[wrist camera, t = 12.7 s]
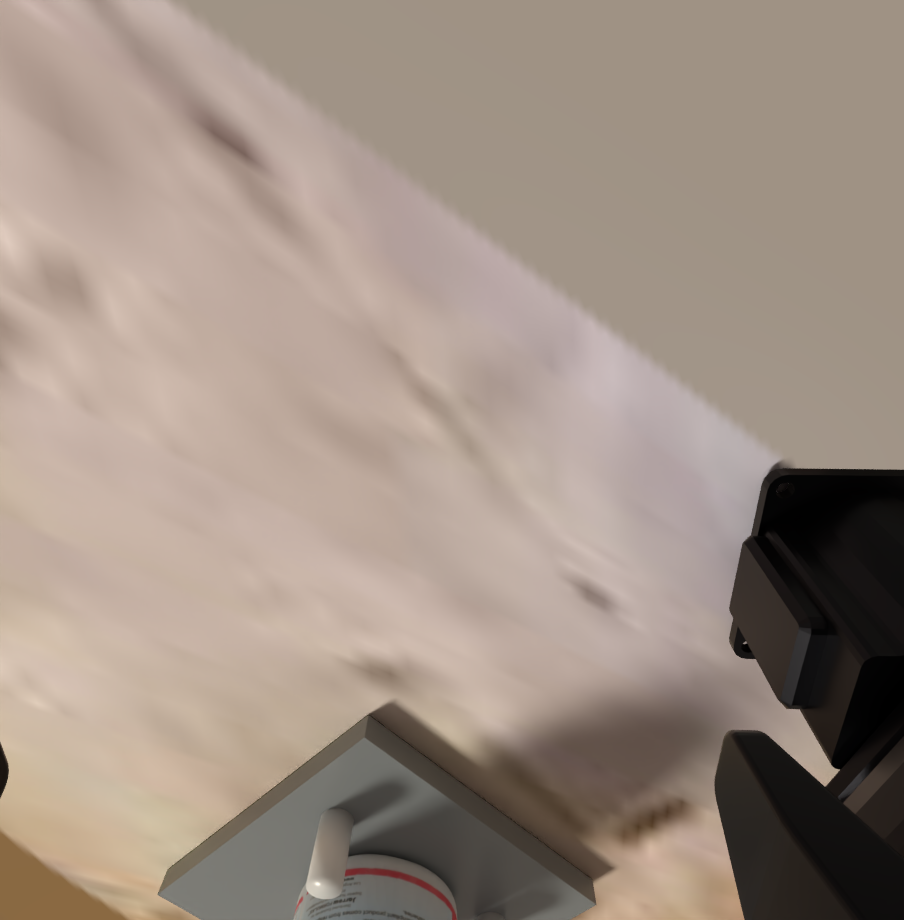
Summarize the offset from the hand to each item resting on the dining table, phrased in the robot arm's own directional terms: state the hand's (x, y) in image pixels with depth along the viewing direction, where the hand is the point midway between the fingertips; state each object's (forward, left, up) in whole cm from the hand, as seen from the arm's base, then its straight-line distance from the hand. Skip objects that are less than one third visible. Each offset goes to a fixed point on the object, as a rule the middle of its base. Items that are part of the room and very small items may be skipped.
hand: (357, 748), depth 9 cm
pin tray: (+2, +20, -12) cm, 23 cm away
